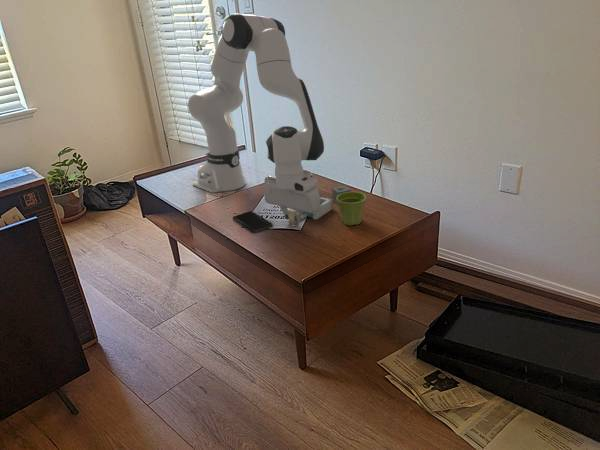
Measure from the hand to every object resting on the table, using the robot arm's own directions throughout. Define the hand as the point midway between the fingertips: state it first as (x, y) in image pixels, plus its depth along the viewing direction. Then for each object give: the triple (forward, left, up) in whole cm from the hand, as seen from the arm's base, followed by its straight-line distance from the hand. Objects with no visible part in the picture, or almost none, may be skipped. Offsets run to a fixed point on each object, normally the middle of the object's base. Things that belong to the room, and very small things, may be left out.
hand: (293, 219), depth 158 cm
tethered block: (0, +5, -2) cm, 6 cm away
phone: (-13, -5, -2) cm, 14 cm away
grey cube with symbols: (+4, +23, -2) cm, 24 cm away
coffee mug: (-10, +19, -2) cm, 22 cm away
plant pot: (+16, +10, -2) cm, 19 cm away
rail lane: (0, +11, -2) cm, 12 cm away
